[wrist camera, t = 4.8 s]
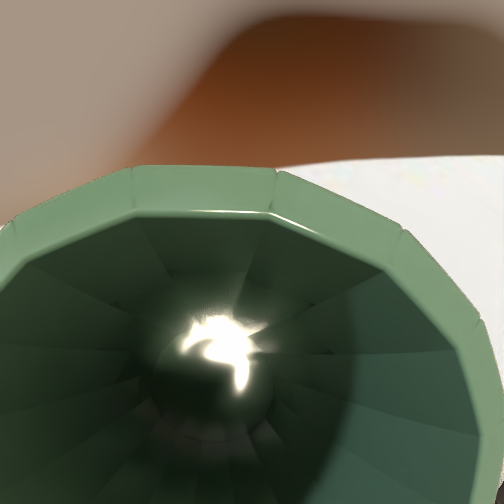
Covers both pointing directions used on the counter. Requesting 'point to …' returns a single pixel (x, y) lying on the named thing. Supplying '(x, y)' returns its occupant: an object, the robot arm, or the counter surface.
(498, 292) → the counter surface
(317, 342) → the tumbler
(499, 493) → the grey square block
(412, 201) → the counter surface
